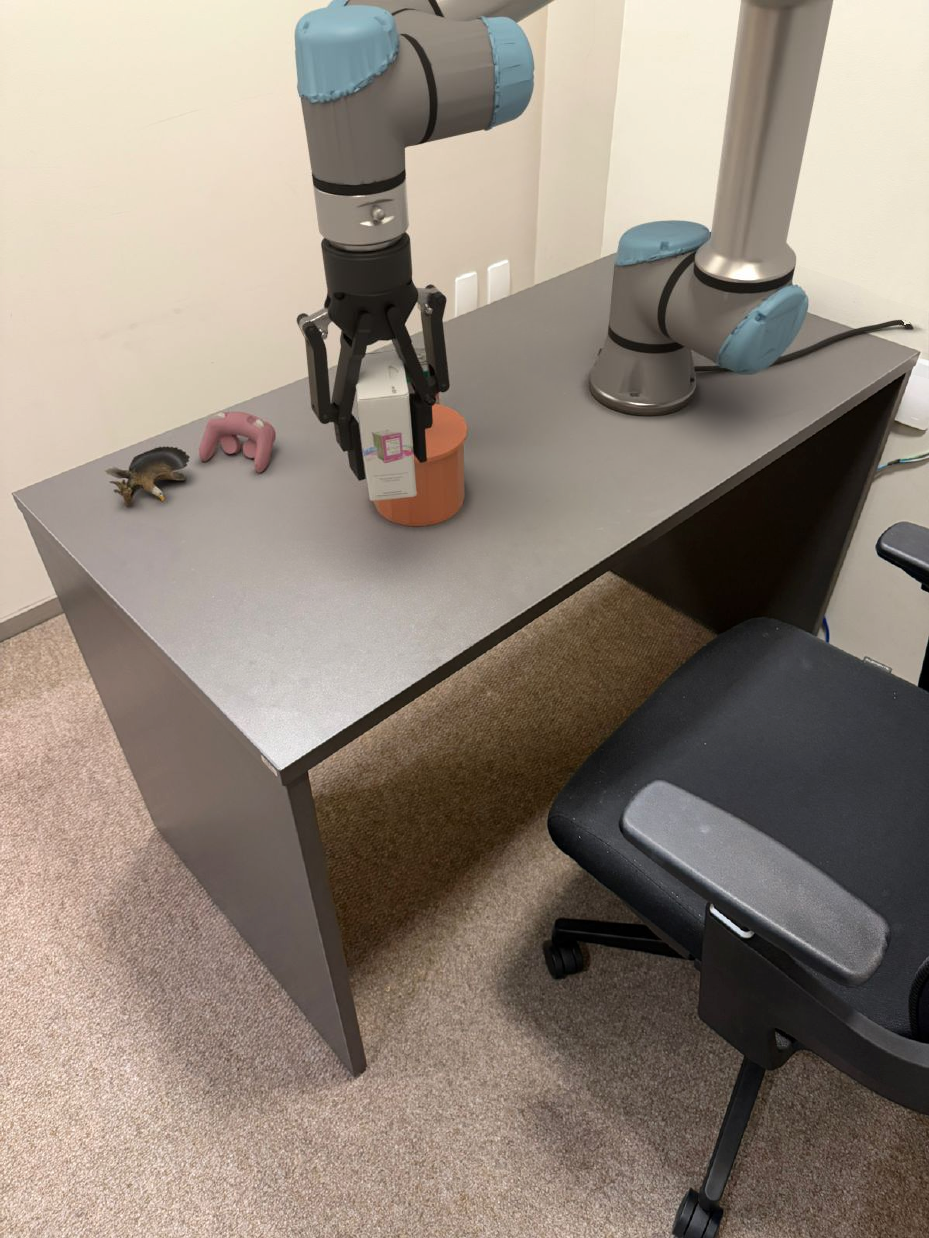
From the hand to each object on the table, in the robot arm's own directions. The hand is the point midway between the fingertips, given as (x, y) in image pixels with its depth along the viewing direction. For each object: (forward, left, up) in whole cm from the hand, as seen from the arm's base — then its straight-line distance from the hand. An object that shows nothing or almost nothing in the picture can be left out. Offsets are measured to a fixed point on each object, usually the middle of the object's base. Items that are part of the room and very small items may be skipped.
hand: (388, 463), depth 88 cm
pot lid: (-8, -12, -5) cm, 15 cm away
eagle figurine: (+22, -28, -15) cm, 39 cm away
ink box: (0, 0, -1) cm, 1 cm away
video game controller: (+10, -31, -15) cm, 36 cm away
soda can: (-14, -25, -15) cm, 32 cm away
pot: (-8, -12, -15) cm, 21 cm away
